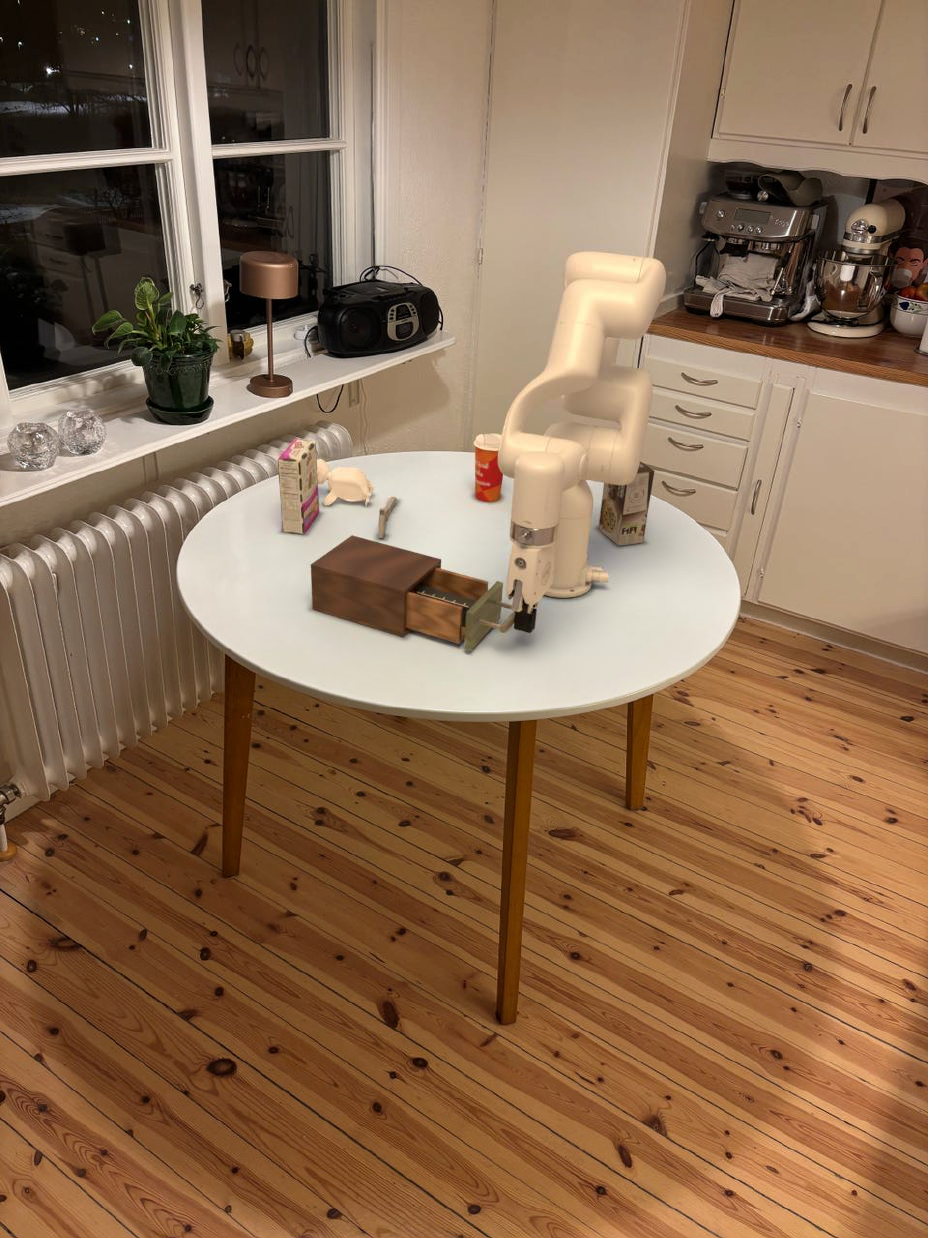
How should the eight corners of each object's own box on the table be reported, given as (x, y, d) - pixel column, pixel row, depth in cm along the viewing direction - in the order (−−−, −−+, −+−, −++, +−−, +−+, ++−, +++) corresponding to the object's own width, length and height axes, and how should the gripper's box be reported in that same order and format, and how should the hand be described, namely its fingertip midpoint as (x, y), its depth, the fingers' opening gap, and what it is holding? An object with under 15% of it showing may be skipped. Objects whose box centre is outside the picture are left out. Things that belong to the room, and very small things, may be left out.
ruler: (476, 620, 165) (477, 600, 163) (468, 628, 163) (469, 608, 161) (421, 604, 169) (422, 584, 167) (413, 612, 166) (413, 592, 164)
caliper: (383, 540, 194) (383, 512, 191) (378, 540, 194) (378, 512, 191) (396, 500, 212) (396, 474, 209) (391, 500, 212) (392, 473, 209)
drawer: (528, 626, 166) (531, 590, 163) (499, 660, 157) (502, 622, 153) (413, 593, 174) (414, 558, 171) (379, 623, 165) (379, 587, 161)
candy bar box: (297, 510, 205) (294, 438, 196) (319, 513, 204) (317, 440, 196) (280, 532, 195) (276, 457, 187) (304, 535, 195) (301, 460, 186)
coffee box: (644, 542, 199) (656, 470, 191) (617, 546, 197) (628, 474, 189) (622, 524, 207) (633, 454, 198) (596, 528, 204) (606, 457, 196)
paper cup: (466, 491, 218) (469, 433, 211) (497, 489, 220) (502, 431, 213) (477, 505, 212) (480, 445, 204) (509, 502, 214) (514, 443, 206)
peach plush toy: (366, 504, 216) (304, 477, 214) (379, 473, 212) (317, 445, 209) (360, 520, 209) (296, 493, 206) (374, 488, 205) (309, 459, 202)
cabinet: (439, 603, 174) (441, 559, 169) (403, 637, 163) (404, 591, 158) (352, 578, 180) (351, 535, 175) (312, 609, 169) (310, 564, 165)
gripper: (538, 554, 143) (528, 656, 152) (572, 518, 154) (560, 615, 164) (493, 542, 145) (485, 644, 155) (529, 508, 157) (520, 604, 166)
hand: (524, 628), depth 159 cm, fingers closed
